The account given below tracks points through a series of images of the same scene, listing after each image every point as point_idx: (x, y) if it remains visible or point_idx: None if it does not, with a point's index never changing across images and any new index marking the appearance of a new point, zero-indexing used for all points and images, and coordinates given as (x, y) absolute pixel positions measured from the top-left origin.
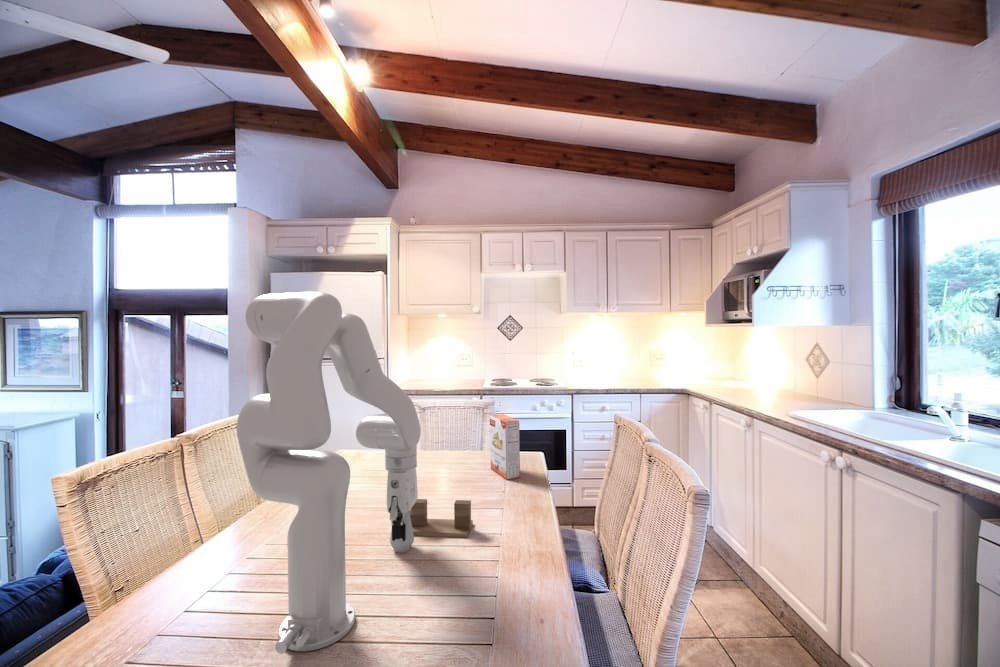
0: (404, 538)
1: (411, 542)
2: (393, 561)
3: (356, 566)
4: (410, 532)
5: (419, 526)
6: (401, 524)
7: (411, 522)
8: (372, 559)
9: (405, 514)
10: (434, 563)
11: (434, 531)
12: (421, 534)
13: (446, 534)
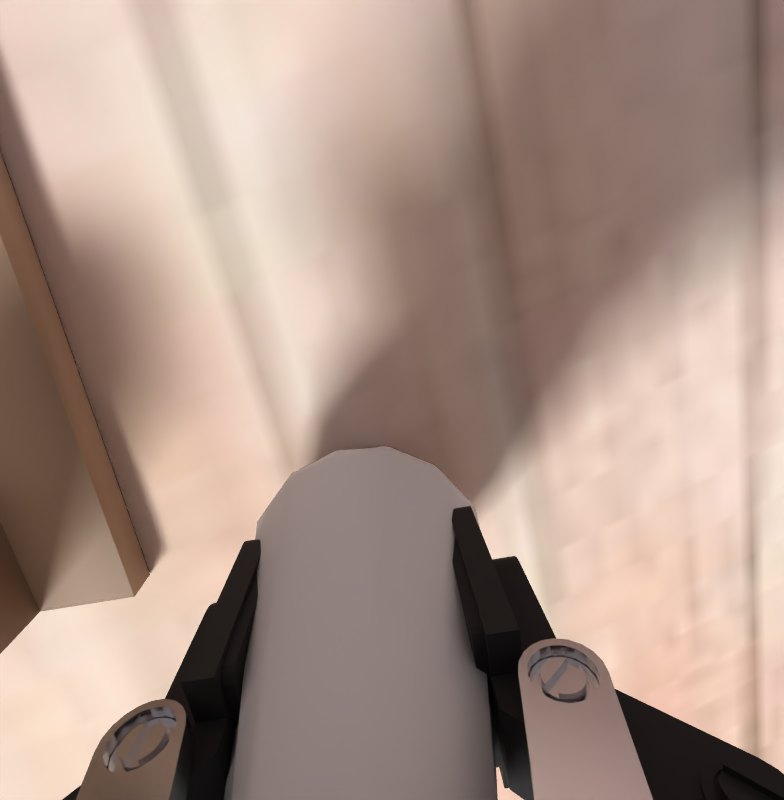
0: (474, 520)
1: (392, 450)
2: (562, 482)
3: (653, 668)
4: (390, 510)
5: (2, 537)
6: (601, 671)
7: (6, 629)
8: (556, 625)
9: (434, 786)
10: (546, 124)
11: (22, 356)
12: (102, 464)
13: (5, 211)
